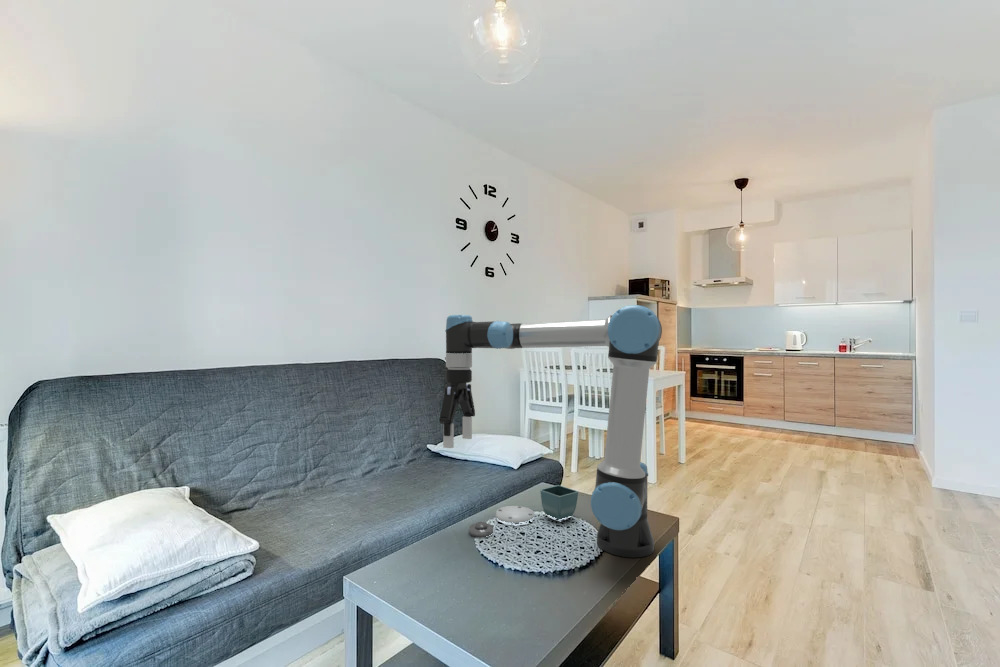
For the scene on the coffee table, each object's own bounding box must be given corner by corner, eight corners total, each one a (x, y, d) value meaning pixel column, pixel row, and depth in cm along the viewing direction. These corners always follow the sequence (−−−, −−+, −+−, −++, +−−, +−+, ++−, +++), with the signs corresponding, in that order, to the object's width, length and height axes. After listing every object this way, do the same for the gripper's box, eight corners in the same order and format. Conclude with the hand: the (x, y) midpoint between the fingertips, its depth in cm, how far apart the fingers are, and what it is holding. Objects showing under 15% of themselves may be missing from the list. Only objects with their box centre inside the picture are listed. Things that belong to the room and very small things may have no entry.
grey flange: (538, 514, 148) (538, 508, 148) (528, 528, 136) (528, 521, 136) (502, 510, 152) (503, 503, 152) (490, 523, 140) (490, 516, 140)
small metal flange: (496, 530, 135) (496, 521, 135) (488, 539, 128) (488, 530, 128) (474, 526, 137) (474, 518, 137) (465, 535, 131) (465, 526, 131)
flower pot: (558, 512, 151) (558, 484, 151) (578, 520, 144) (579, 491, 144) (539, 518, 145) (539, 489, 145) (559, 526, 138) (559, 496, 139)
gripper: (463, 367, 145) (462, 434, 144) (427, 370, 121) (426, 450, 121) (485, 367, 143) (485, 435, 142) (453, 370, 119) (452, 453, 118)
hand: (458, 443), depth 131 cm, fingers open, 13 cm apart
